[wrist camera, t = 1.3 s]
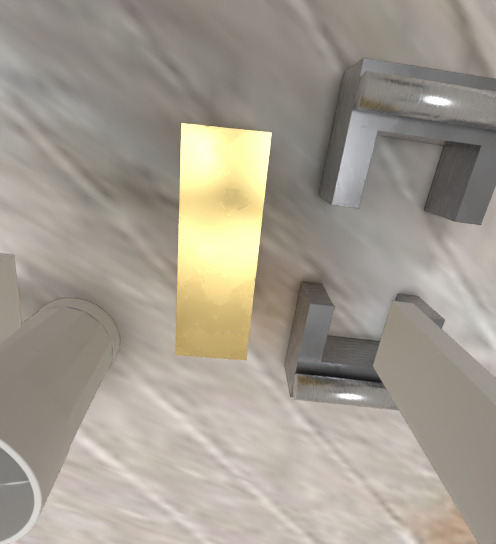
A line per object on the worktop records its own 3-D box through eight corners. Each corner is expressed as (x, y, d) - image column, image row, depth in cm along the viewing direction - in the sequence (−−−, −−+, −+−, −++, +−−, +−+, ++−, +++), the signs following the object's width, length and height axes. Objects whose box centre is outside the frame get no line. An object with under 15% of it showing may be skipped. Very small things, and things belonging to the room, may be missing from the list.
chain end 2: (301, 282, 24) (315, 316, 19) (418, 296, 24) (460, 333, 20) (284, 365, 26) (293, 414, 22) (391, 377, 27) (422, 427, 22)
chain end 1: (343, 72, 19) (375, 48, 15) (485, 94, 20) (562, 78, 15) (318, 196, 22) (339, 210, 17) (446, 213, 22) (500, 231, 18)
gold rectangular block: (198, 129, 21) (181, 123, 15) (264, 136, 21) (271, 132, 15) (191, 307, 25) (175, 354, 19) (246, 311, 25) (246, 360, 19)
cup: (144, 310, 25) (58, 448, 13) (115, 393, 27) (23, 568, 16) (32, 270, 24) (-163, 385, 12) (13, 361, 26) (-163, 525, 15)
